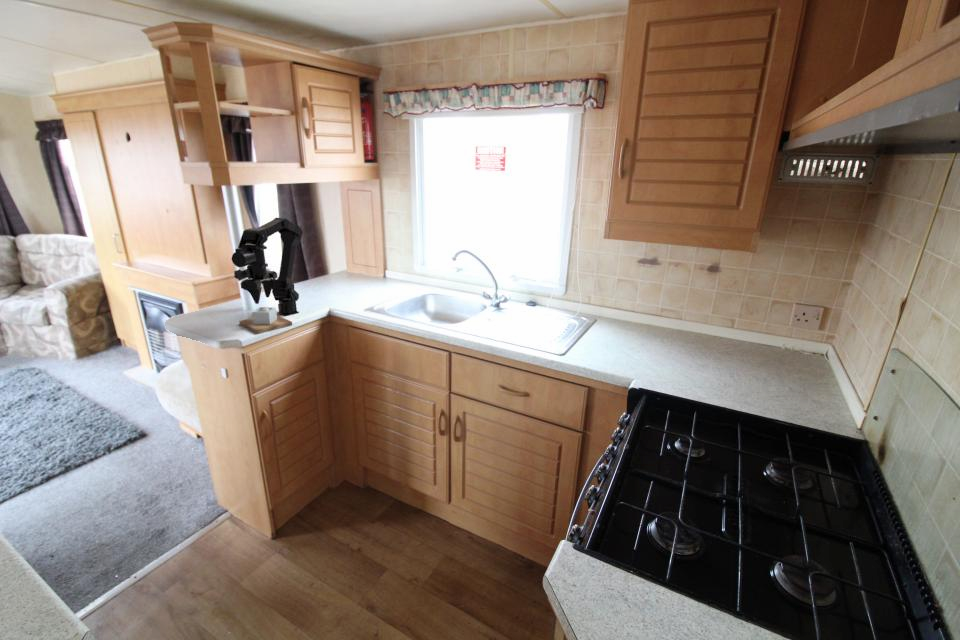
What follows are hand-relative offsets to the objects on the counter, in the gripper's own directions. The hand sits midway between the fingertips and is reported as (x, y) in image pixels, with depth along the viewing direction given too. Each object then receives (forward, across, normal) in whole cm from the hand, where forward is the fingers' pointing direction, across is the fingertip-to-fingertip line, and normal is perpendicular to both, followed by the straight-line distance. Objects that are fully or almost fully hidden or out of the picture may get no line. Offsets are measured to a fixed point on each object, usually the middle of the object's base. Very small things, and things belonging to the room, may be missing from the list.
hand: (262, 300), depth 182 cm
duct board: (+10, 0, 0) cm, 11 cm away
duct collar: (+9, 0, 0) cm, 9 cm away
